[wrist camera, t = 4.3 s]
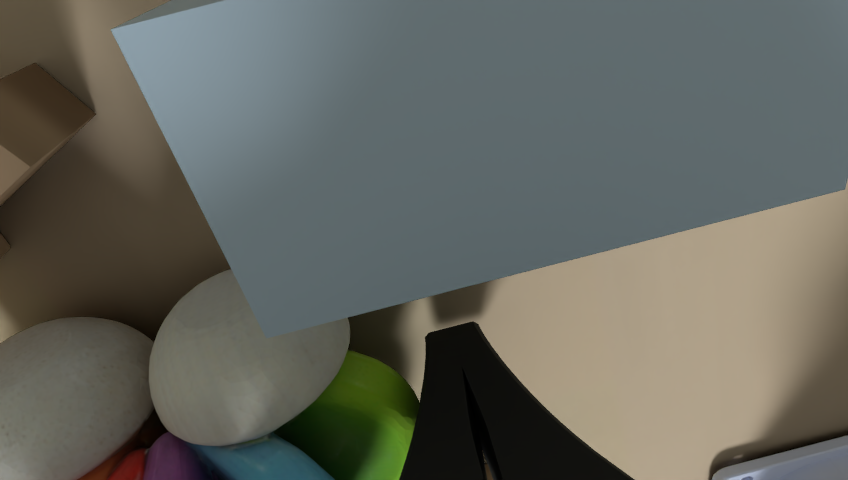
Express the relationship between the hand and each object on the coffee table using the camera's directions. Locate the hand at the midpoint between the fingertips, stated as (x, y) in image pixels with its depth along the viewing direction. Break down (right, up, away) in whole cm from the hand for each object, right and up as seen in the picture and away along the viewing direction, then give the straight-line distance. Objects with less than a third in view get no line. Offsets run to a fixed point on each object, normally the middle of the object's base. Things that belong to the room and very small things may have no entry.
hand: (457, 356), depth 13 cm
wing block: (0, +7, -3) cm, 7 cm away
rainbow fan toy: (-6, -1, +1) cm, 6 cm away
